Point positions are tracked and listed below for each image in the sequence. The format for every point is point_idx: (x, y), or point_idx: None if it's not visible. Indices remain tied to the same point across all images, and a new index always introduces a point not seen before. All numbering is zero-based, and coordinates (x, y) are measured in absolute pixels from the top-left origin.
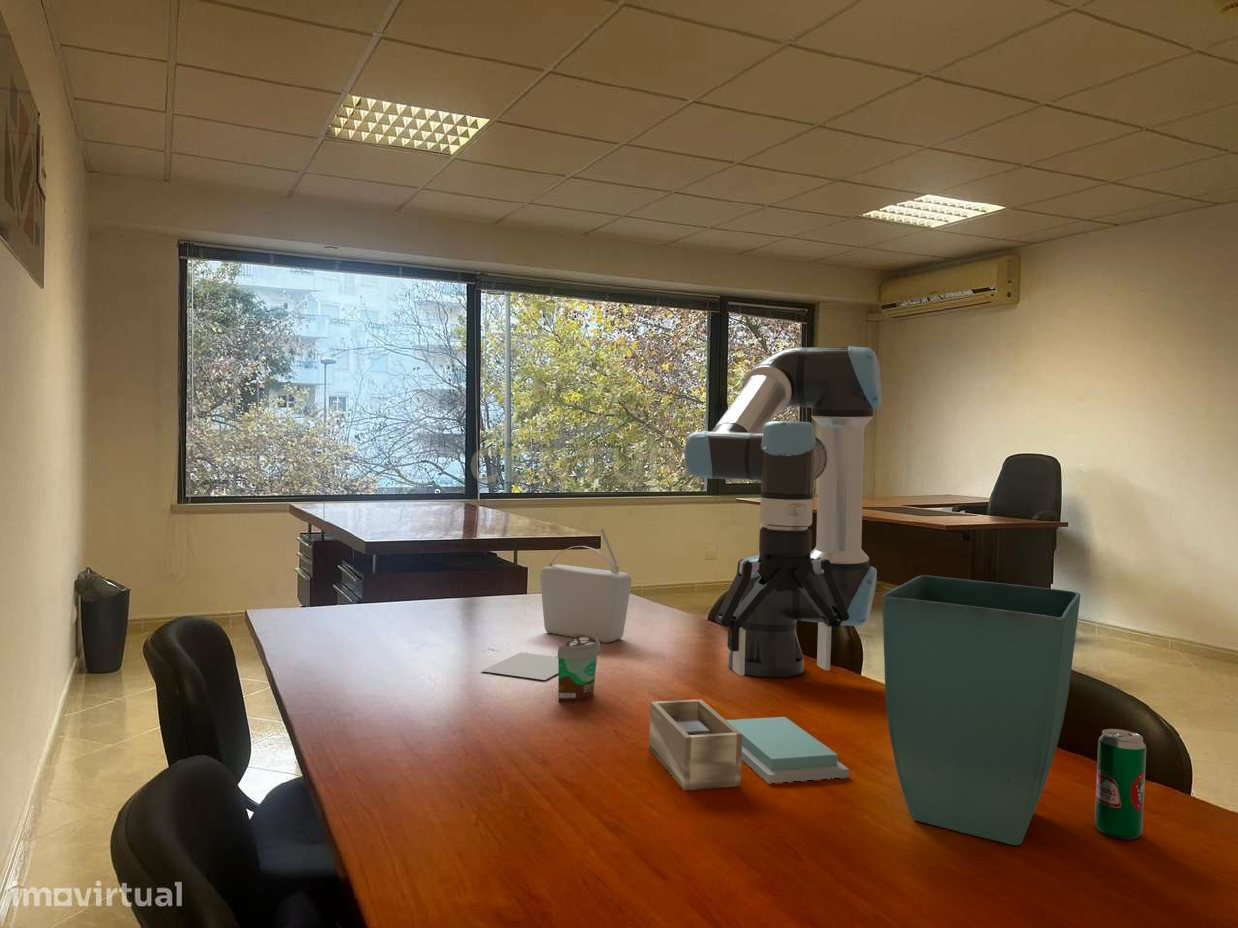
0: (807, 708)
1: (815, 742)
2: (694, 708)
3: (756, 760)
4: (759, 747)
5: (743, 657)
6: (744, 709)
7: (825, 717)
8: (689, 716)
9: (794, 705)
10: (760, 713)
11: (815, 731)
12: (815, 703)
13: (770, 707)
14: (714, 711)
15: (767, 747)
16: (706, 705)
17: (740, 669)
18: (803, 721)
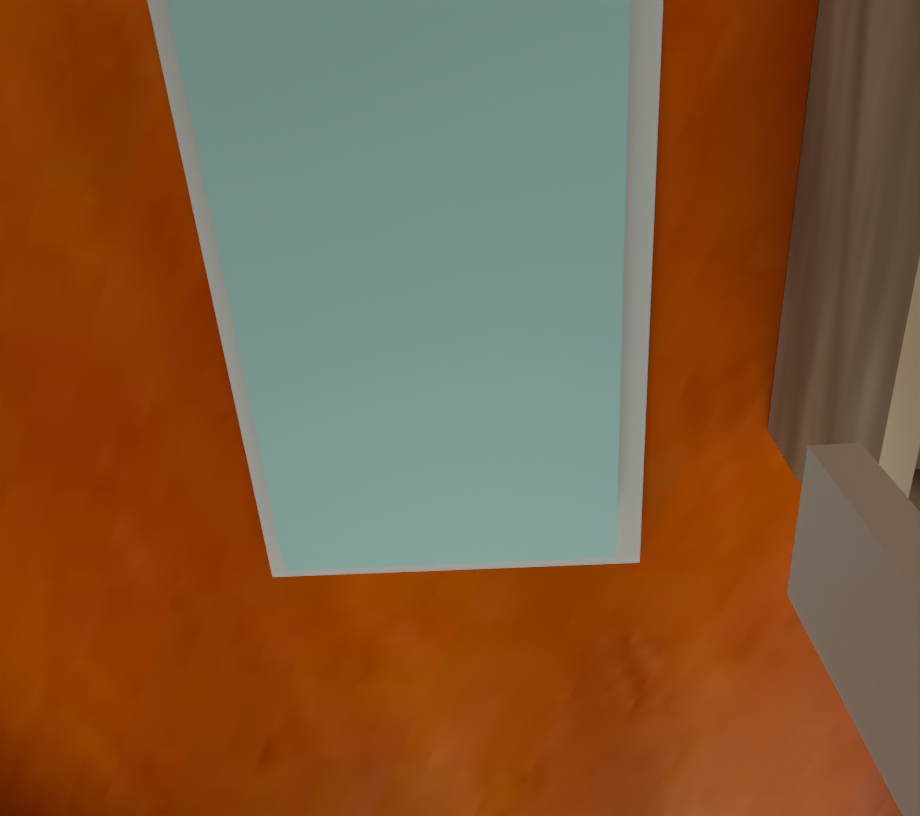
0: (103, 769)
1: (235, 170)
2: None
3: (635, 83)
4: (616, 121)
5: (902, 556)
6: (380, 783)
7: (48, 677)
8: (910, 489)
9: (151, 801)
10: (327, 741)
11: (139, 535)
12: (54, 811)
13: (261, 792)
14: (908, 345)
15: (566, 116)
16: (890, 467)
17: (878, 471)
18: (162, 646)
